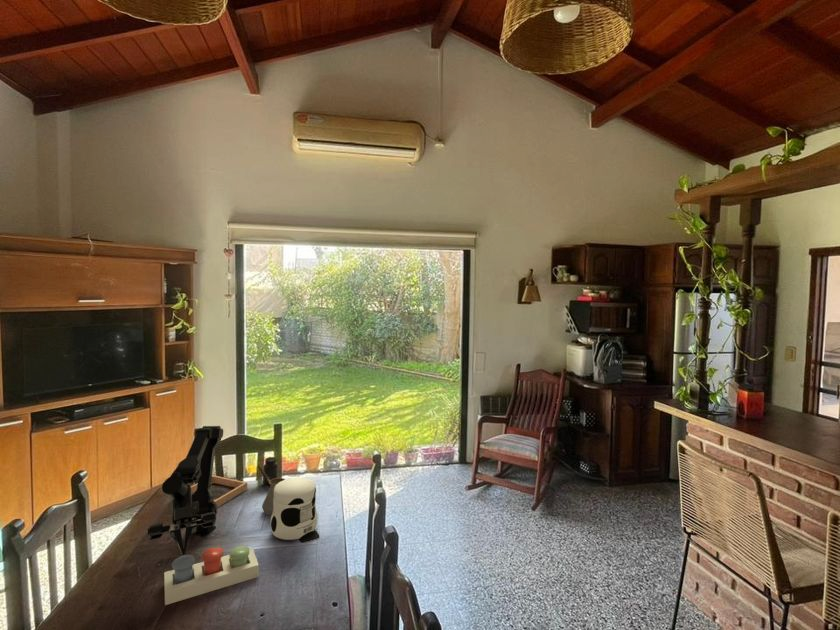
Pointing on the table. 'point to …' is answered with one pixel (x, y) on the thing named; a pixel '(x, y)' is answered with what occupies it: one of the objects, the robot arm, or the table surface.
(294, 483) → the milk container
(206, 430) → the robot arm
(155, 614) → the table surface
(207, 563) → the red button
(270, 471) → the supplement bottle
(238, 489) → the square wooden frame
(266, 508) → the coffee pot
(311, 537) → the phone
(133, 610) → the table surface
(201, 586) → the button console
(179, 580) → the slate blue button
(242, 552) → the sage green button
